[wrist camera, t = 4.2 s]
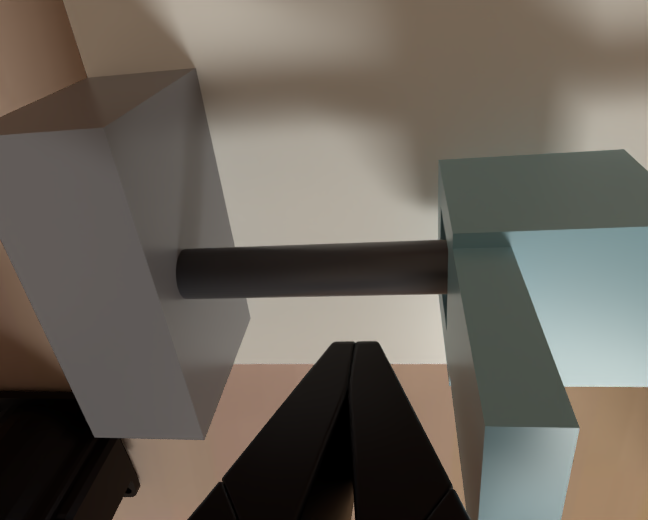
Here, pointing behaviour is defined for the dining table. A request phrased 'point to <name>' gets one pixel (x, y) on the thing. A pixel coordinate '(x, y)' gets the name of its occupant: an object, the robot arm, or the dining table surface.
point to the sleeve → (538, 313)
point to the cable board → (281, 177)
